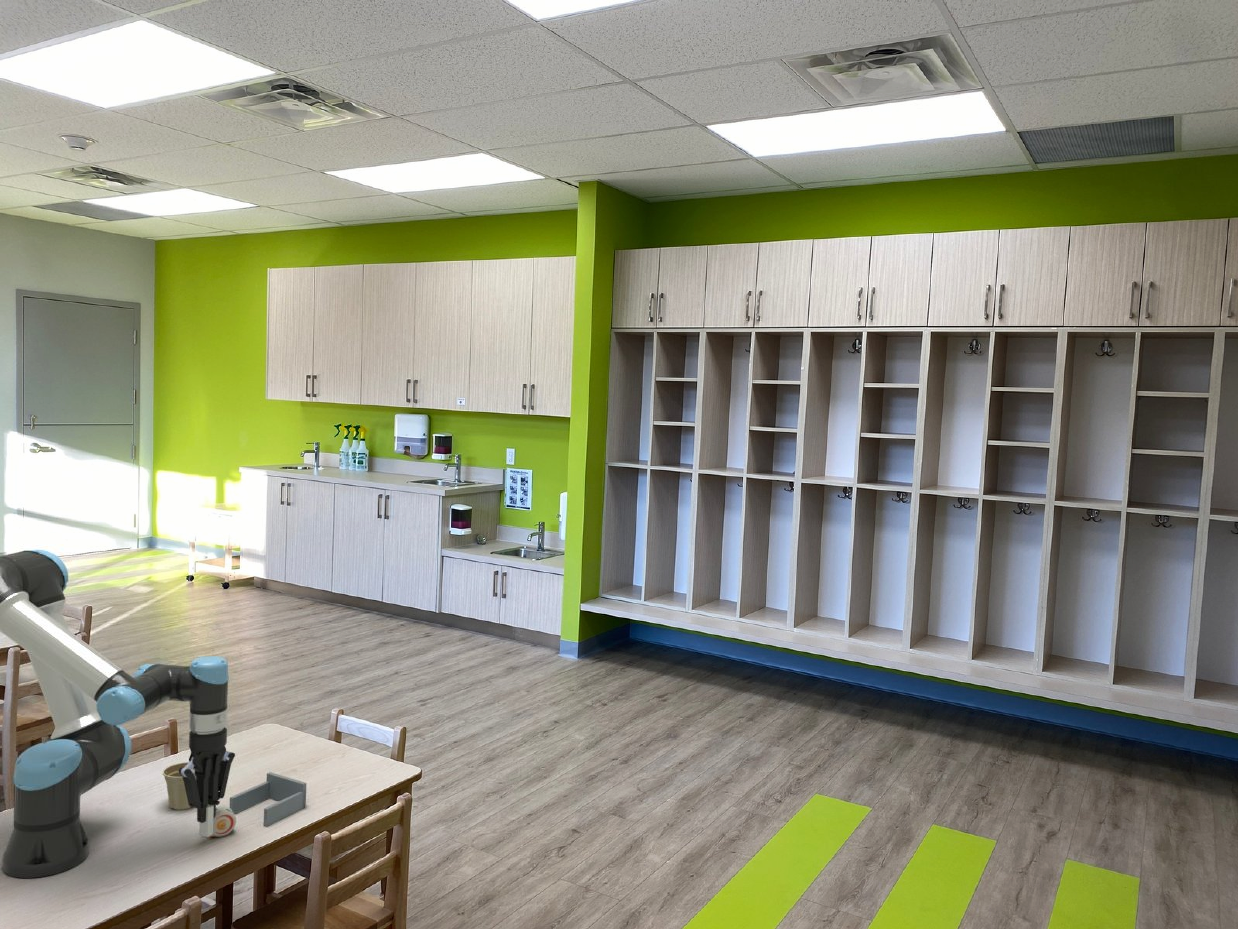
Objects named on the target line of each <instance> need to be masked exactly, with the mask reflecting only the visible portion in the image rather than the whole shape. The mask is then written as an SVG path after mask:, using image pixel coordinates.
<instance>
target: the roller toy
mask: <svg viewBox="0 0 1238 929" xmlns="http://www.w3.org/2000/svg"><path fill="white" fill-rule="evenodd" d="M229 807H230V806H229ZM229 807H228V806H226V805H220V806H219V805H217V806H216V815H215V817H214V818H213V835H211V836H209V837H208V838H213V837H219V838H220V837H225V836H227V835H228V834H230V833H231V832H232V831H233V830H234V829H235V827H236V824H237V817H236V814H234V813H233V811H232V810H231V809H230V808H229Z"/></svg>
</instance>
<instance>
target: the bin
mask: <svg viewBox="0 0 1238 929" xmlns="http://www.w3.org/2000/svg"><path fill="white" fill-rule="evenodd" d="M268 799H269V800H273V801H277V802H275V803H273V804H270V805H268V806H266V807H264V808H263V826H264V827H269V826H271V825H273V824H276V823H277V822H279V821H280V820H283V819H285V818H287V817H289V816H291V815H292V814H295V813H297V812H299V811H301V810H303V809H304V808H306V807H307V806H306V804H307V782H305V781H301V780H297V779H295V778H292V777H288V776H284V775H281V774H278V773H274V772H272V771H269V772H266V781H264V782H262V783H260V784H258V785H255V786H253V787H251V788H248V789H246V790H244V791H241V792H239V793H236V794H235V795H232V796H230V797H229V808H230V809H231V810H232V811H233V813H234V815H236V814H238V813H241V812H243V811H245V810H246V809H248V808H251V807H253V806H255V805H257V804H260V803H261V802H265V801H266V800H268ZM296 811H297V812H296Z"/></svg>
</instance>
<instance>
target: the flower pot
mask: <svg viewBox="0 0 1238 929" xmlns="http://www.w3.org/2000/svg"><path fill="white" fill-rule="evenodd" d="M188 763H189V761H185V762H178V763H174V764H171V765H169V766H166V767H165V768H164V769H162V775H163V776H164V780H165V782H166V789H167V790H166V791H167V796H168V805H169V808H171V809H175V810H177V811H178V810H180V811H182V810H187V809H190V808H192V807H191V806H189V804H188V800H187V795H186V790H185V786H184V781H183V777H182V776H181V774H180V773H179V769H180V768H181V767H183V768H184V767H185V766H186V765H187V764H188ZM193 770H194V771H195V769H194V768H193ZM194 776H195V773H194ZM195 779H196V776H195Z"/></svg>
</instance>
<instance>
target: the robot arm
mask: <svg viewBox="0 0 1238 929" xmlns="http://www.w3.org/2000/svg"><path fill="white" fill-rule="evenodd" d="M68 582H69V572H68V568H67V566H66V564H65V562H63V561H62V559H61V558H60V557H59V556H57V555H56V554H55V553H52V552H50V551H48V550H46V549H45V550H44V549H33V550H32V549H30V550H29V549H25V550H22V551H18V552H14V553H13V552H12V553H8V554H4V555H0V633H2V634H3V635H5V636H6V637H7V638H9V639H10V640H12V641H13V642H14V643H16V644H17V645H18V646H20V648H23V649H24V650H25V651H27V655H28V657H29V660H30V663H31V665H32V668H33V671H34V673H35V676H36V679H37V681H38V684H39V686H40V689H41V693H42V695H43V699H44V701H45V702H46V705H47V708H48V710H49V713H50V716H51V719H52V721H53V724H54V730H53V732H52V734H51V736H50V740H47V741H46V742H43V743H42V742H40V743H37V744H35V745H32V746H30V747H29V748H27V749H25V750H24V751H23V752H22V753H21V754H20V755H19V756H18V757H17V759H16V761H15V764H14V773H13V776H12V781H13V828H12V832H11V834H10V837H9V840H8V842H7V845H6V848H5V851H4V853H3V855H2V871H3V872H4V874H6V875H8V876H11V877H14V878H19V879H21V878H22V879H31V878H35V879H36V878H41V877H48V876H51V875H56V874H59V873H62V872H66V871H67V870H70V869H72V868H75V867H76V866H78V865H79V864H81V863H83V862H84V861H85V860H86V859H87V857H88V856H89V854H90V853H89V852H90V840H89V838H88V835H87V833H86V830H85V828H84V825H83V823H82V820H81V796H82V795H83V794H85V793H87V792H89V791H90V790H92V789H93V788H94V787H97V786H98V785H100V784H102V783H103V782H105V781H108V780H110V779H111V778H113V777H114V776H116V774H117V773H118V772H119V771H121V770H122V769H123V768H124V767H125V766H126V764H127V762H128V761H129V758H130V756H131V752H132V741H131V737H130V735H129V733H128V732H127V730H126V728H124V727H123V726H121V725H123V724H126V723H129V722H133V721H134V720H136V719H138V718H139V717H140V716H142V715H144V714H145V713H146V712H148V711H151V710H153V709H155V708H157V707H158V706H160V705H162V704H164V703H166V702H169V701H170V702H172V701H173V702H189V720H188V721H189V724H188V726H189V727H188V728H189V730H190V732H189V736H188V737H189V738H188V748H189V749H190V755H189V757H188V762H189V763H188V764H187V765H186V766H185V767H184V768H183V767H181V768H180V769H179V773H180V774H181V776H182V777H183V781H184V786H185V790H186V795H187V800H188V804H189V806H191V808H194V809H196V821H197V822H198V823H199V824H198V834H199V835H200V836H203V837H206V838H210V837H209V836H211V835H213V818H214V817H215V815H216V807H217V806H219V805H220V804H221V803H220V802H221V801H220V800H221V799H224V798H225V794H226V789H227V785H228V780H229V775H230V771H231V766H232V764H233V761H234V759H235V757H236V753H235V752H232V751H229V750H227V747H226V746H227V742H228V740H227V739H228V736H227V735H228V728H227V727H226V726H227V725H228V695H229V694H228V691H229V690H228V689H229V679H230V678H229V664H228V660H227V659H226V658H224V657H222V656H219V655H218V656H216V655H215V656H201V657H197V658H195V659H193V660H192V661H191V663H190V666H189V665H188V666H187V665H177V664H176V665H174V664H163V663H145V664H143V665H141V666H139V667H138V669H137V671H135V672H134V674H133V676H132V675H131V674H129V673H127V672H126V671H124V670H123V669H122V668H120V667H119V666H118V665H116V664H115V663H114V662H113V661H111V660H110V659H109V658H107V657H105V656H104V655H103V654H102V653H100V652H99V651H98V650H96V649H95V648H93V647H92V646H91V645H89V644H88V643H86V642H85V641H84V640H83V639H81V638H80V637H79V636H77V635H76V634H74V632H72V631H70V629H69V627H68V625H67V623H66V622H67V621H66V620H65V616H64V614H63V611H62V608H63V607H64V605H65V604H66V602H67V600H66V597H65V594H64V591H65V590H66V588H67V583H68ZM193 768H194V769H195V771H194V770H193ZM194 773H195V776H196V779H195V776H194Z"/></svg>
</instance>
